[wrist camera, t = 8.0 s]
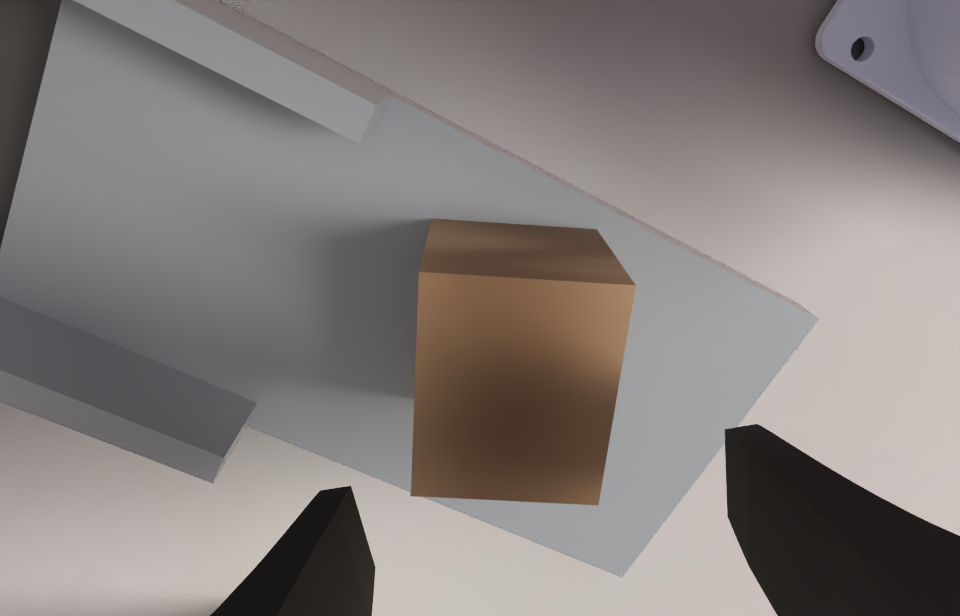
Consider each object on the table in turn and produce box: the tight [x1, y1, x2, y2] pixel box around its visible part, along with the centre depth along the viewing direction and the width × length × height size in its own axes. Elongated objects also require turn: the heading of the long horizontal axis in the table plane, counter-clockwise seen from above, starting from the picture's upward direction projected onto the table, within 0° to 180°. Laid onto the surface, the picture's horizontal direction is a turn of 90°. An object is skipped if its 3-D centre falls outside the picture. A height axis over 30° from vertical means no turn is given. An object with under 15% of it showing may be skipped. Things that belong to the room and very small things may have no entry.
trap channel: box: [0, 0, 819, 577], centre depth 15 cm, size 26×10×4 cm, turn 63°
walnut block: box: [411, 219, 636, 505], centre depth 15 cm, size 4×5×4 cm
